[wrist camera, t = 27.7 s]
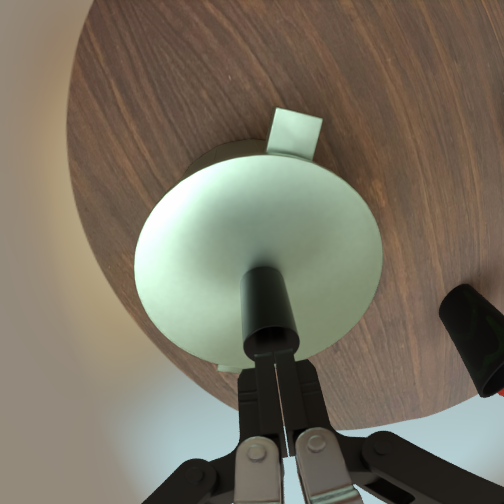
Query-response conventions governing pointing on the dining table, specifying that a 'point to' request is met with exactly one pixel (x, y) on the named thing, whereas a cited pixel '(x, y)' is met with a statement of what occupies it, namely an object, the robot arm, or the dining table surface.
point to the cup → (476, 336)
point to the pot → (271, 148)
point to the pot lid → (258, 259)
